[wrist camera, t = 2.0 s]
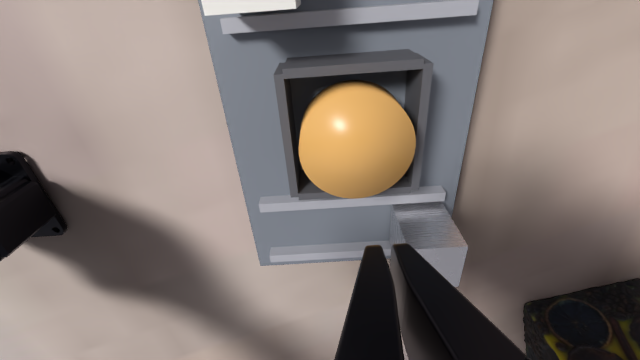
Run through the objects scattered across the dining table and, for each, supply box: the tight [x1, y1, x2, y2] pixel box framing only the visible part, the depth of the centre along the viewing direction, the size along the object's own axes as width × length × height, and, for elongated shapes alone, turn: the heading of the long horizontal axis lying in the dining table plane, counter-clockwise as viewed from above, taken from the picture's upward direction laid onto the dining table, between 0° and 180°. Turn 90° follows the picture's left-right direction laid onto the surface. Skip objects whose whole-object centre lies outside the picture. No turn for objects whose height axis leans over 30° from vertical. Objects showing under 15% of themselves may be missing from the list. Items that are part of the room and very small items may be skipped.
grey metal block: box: [389, 201, 468, 287], centre depth 18 cm, size 3×3×4 cm
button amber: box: [299, 80, 416, 199], centre depth 14 cm, size 5×5×2 cm
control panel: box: [198, 0, 493, 266], centre depth 15 cm, size 13×28×4 cm, turn 4°
